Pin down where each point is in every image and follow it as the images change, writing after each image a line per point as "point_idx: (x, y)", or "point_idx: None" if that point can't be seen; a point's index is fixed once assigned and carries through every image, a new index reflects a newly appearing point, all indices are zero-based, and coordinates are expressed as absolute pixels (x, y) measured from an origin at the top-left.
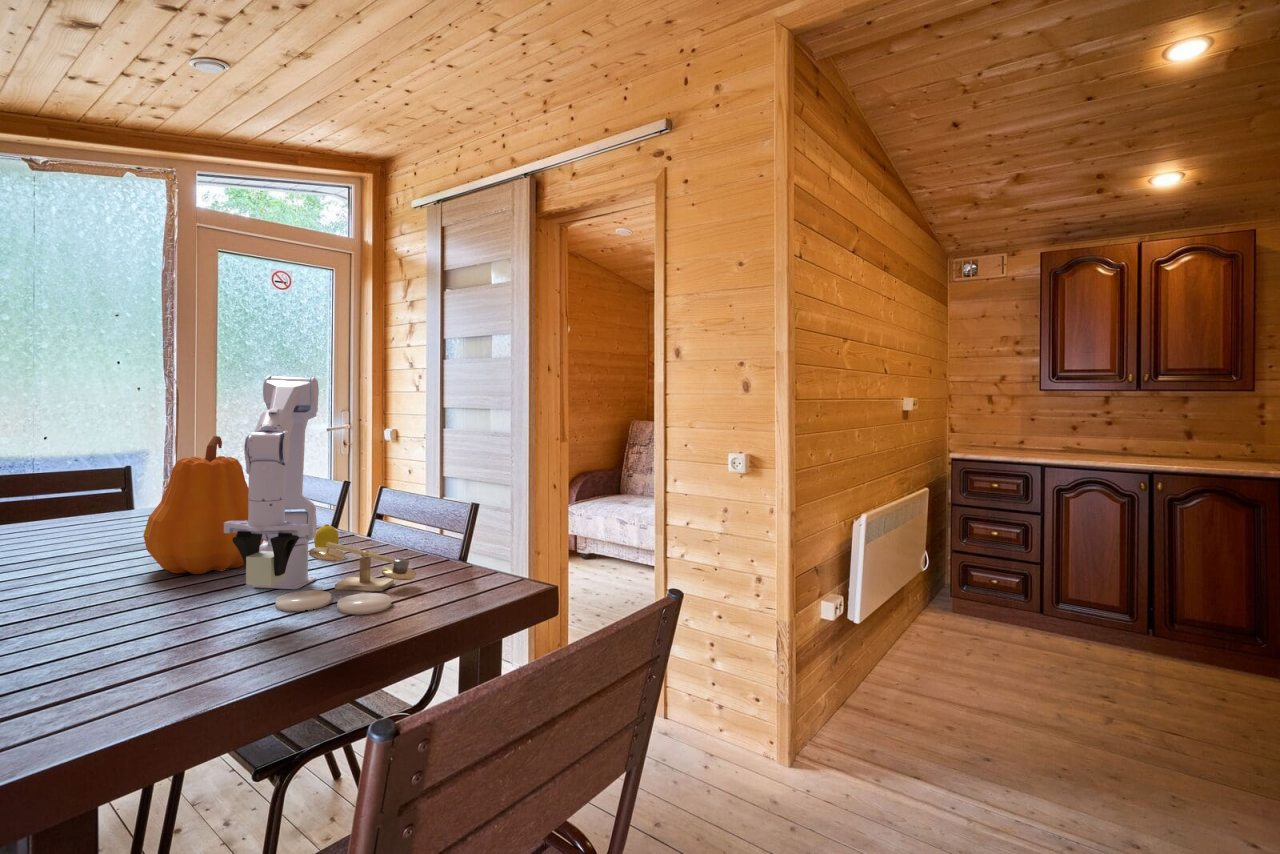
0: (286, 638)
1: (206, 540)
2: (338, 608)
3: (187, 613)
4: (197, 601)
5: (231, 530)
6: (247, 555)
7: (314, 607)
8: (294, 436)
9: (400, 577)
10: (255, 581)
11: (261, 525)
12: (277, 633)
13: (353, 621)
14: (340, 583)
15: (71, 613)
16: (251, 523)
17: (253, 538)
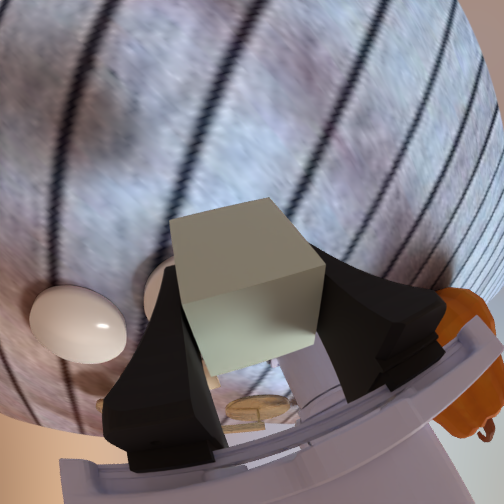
0: (43, 107)
1: (440, 334)
2: (92, 295)
3: (378, 171)
4: (390, 228)
5: (463, 342)
6: (330, 279)
7: (147, 283)
8: None
9: (100, 402)
10: (236, 212)
11: (322, 491)
12: (88, 121)
13: (17, 258)
14: (206, 370)
15: (479, 143)
16: (414, 453)
17: (361, 368)
